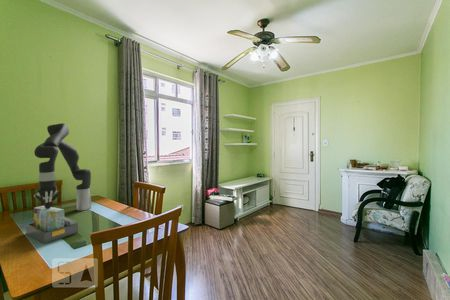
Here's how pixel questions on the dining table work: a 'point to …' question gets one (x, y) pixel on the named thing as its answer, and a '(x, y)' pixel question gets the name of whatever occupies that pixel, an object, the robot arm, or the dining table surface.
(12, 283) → the dining table surface
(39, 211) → the snack box
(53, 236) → the drawer
